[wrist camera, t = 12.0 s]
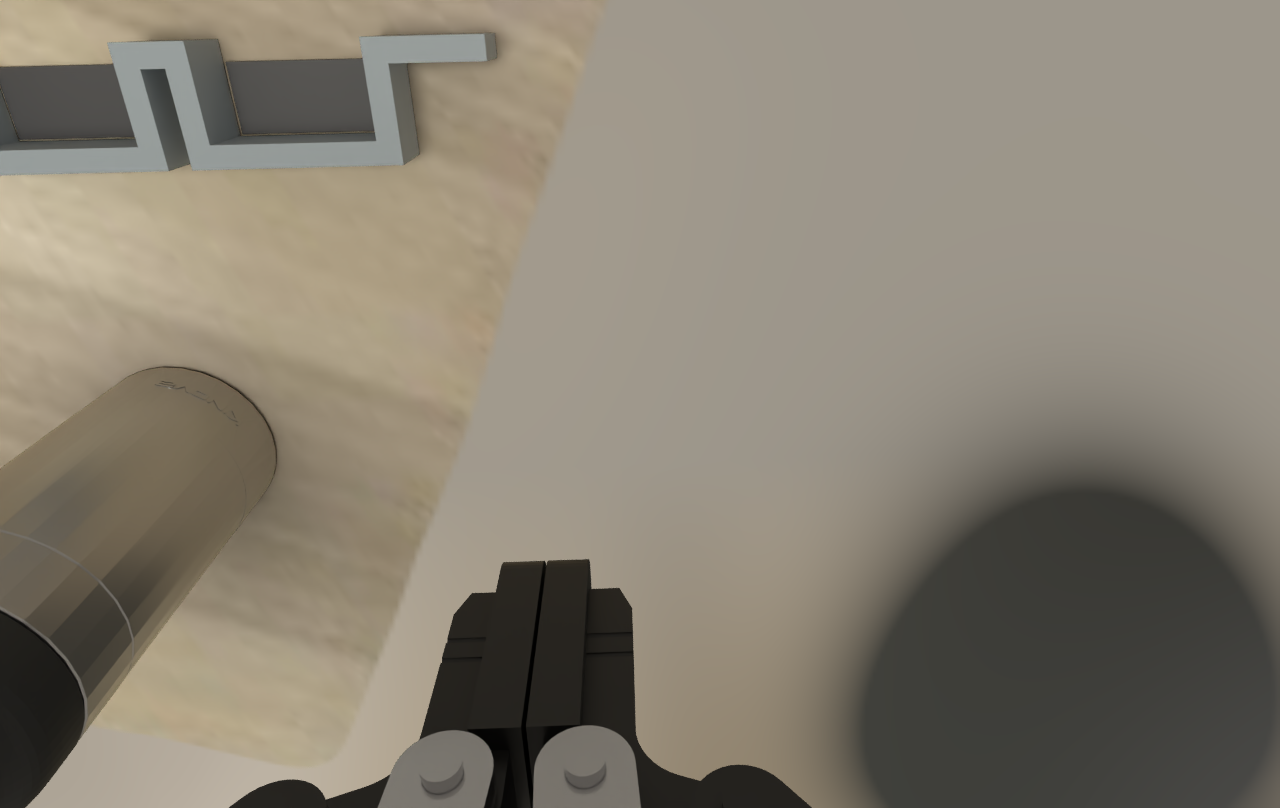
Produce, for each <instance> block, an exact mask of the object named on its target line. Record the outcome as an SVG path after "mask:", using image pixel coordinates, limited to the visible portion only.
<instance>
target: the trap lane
mask: <svg viewBox="0 0 1280 808" xmlns="http://www.w3.org/2000/svg"><path fill="white" fill-rule="evenodd" d="M359 39H360V45H361V51H362V57H363V59H325V60H282V61H240V62H226V66H227V70H228V75H229V79H230V83H231V87H232V92H233V96H234V100H235V104H236V108H237V113H238V117H239V121H240V125H241V130H242V134H267V133H308V132H348V131H375V133H339V134H299V135H259V136H240V131H239V127H238V123H237V119H236V115H235V110H234V106H233V102H232V98H231V94H230V89H229V85H228V81H227V77H226V72H225V68H224V64H223V60H222V56H221V51H220V47H219V43H218V39H207V40H164V41H133V42H111V43H107V44H108V47H109V51H110V54H111V57H112V61H113V64H112V65H69V66H27V67H0V86H1V89H2V92H3V94H4V97H5V100H6V103H7V106H8V108H9V111H10V114H11V117H12V119H13V122H14V125H15V128H16V131H17V133H18V136H19V139H20V140H26V139H67V138H107V137H135V139H98V140H58V141H19V140H18V137H17V134H16V131H15V129H14V126H13V123H12V120H11V117H10V115H9V112H8V109H7V106H6V103H5V101H4V98H3V95H2V92H1V90H0V175H34V174H73V173H112V172H151V171H170V170H173V169H176V168H179V167H182V166H185V165H188V164H191V167H192V170H229V169H269V168H308V167H347V166H386V165H404V164H406V163H407V162H409V161H410V160H412V159H413V158H415V157H416V156H418V155H419V147H418V140H417V133H416V126H415V119H414V112H413V104H412V97H411V90H410V83H409V76H408V69H407V63H430V62H473V61H489V60H492V59H495V58H497V52H496V41H495V33H468V34H424V35H381V36H365V37H359Z"/></svg>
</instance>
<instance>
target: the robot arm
mask: <svg viewBox="0 0 1280 808" xmlns="http://www.w3.org/2000/svg"><path fill="white" fill-rule="evenodd" d="M275 467H276V449H275V445H274V441H273V438H272V434H271V432H270V430H269V428H268V426H267V424H266V422H265V421H264V419H263V417H262V416H261V415H260V414H259V412H258V411H257V410H256V409H255V407H254V406H253V405H252V404H251V403H250V402H249V401H248V400H247V399H246V398H244V397H243V396H242V395H241V394H240V393H239V392H238V391H236V390H235V389H233V388H231V387H230V386H228V385H226V384H225V383H223V382H222V381H220V380H218V379H215V378H213V377H210V376H208V375H205V374H203V373H200V372H196V371H191V370H187V369H183V368H164V367H162V368H155V369H149V370H143V371H141V372H138V373H136V374H133V375H131V376H128V377H127V378H125V379H124V380H123V381H121V382H120V383H118V384H117V385H116V386H114V387H113V388H111V389H110V390H109V391H107V392H106V393H104V394H103V395H102V396H100V397H99V398H97V399H96V400H95V401H93V402H92V403H90V404H89V405H88V406H86V407H85V408H84V409H82V410H81V411H79V412H78V413H76V414H74V415H73V416H72V417H70V418H69V419H68V420H66V421H65V422H63V423H62V424H61V425H59V426H58V427H57V428H55V429H54V430H52V431H51V432H50V433H48V434H47V435H46V436H44V437H43V438H42V439H40V440H39V441H37V442H36V443H35V444H33V445H32V446H31V447H29V448H28V449H26V450H25V451H24V452H22V453H21V454H20V455H18V456H17V457H15V458H14V459H13V460H11V461H10V462H9V463H7V464H6V465H4V466H3V467H2V468H0V808H25V807H26V806H27V805H28V804H29V803H30V802H31V801H32V800H33V799H34V798H35V797H36V796H37V795H38V794H39V793H40V792H41V790H42V789H43V788H44V787H45V786H46V784H47V783H48V782H49V780H50V779H51V778H52V777H53V775H54V774H55V773H56V771H57V770H58V768H59V767H60V766H61V765H62V763H63V761H65V759H66V758H67V756H68V755H69V754H70V753H71V751H72V750H73V748H74V747H75V746H76V744H77V742H78V740H79V739H80V738H81V737H82V735H83V734H84V733H85V731H86V730H87V729H88V727H89V726H90V725H91V723H92V722H93V721H94V719H95V718H96V717H97V715H98V714H99V713H100V711H101V710H102V709H103V707H104V706H105V705H106V703H107V702H108V701H109V699H110V698H111V697H112V695H113V694H114V693H115V691H116V690H117V689H118V687H119V686H120V684H121V683H122V682H123V680H124V679H125V678H126V676H127V675H128V673H129V672H130V671H131V669H132V668H133V667H134V665H135V664H136V663H137V661H138V660H139V659H140V657H141V656H142V655H143V653H144V652H145V651H146V649H147V648H148V647H149V645H150V644H151V643H152V641H153V640H154V639H155V637H156V636H157V635H158V633H159V632H160V631H161V629H162V628H163V627H164V625H165V624H166V623H167V621H168V620H169V619H170V617H171V616H172V615H173V613H174V612H175V611H176V609H177V608H178V607H179V605H180V604H181V603H182V601H183V600H184V599H185V597H186V596H187V595H188V593H189V592H190V591H191V589H192V588H193V587H194V585H195V584H196V583H197V581H198V580H199V579H200V577H201V576H202V575H203V573H204V572H205V571H206V569H207V568H208V567H209V565H210V564H211V563H212V561H213V560H214V559H215V557H216V556H217V555H218V553H219V552H220V551H221V549H222V548H223V547H224V545H225V544H226V543H227V541H228V540H229V539H230V537H231V536H232V535H233V533H234V532H235V531H236V530H237V529H238V527H239V526H240V524H241V523H242V522H243V520H244V519H245V518H246V516H247V515H248V514H249V512H250V511H251V510H252V508H253V507H254V506H255V504H256V503H257V502H258V500H259V499H260V498H261V496H262V495H263V494H264V492H265V491H266V489H267V488H268V486H269V484H270V482H271V480H272V479H273V475H274V471H275ZM632 625H633V624H632V607H631V606H630V604H629V603H628V601H627V600H626V598H625V596H624V595H623V593H622V592H621V590H620V588H608V589H591V573H590V561H589V559H585V560H556V561H548V562H547V566H546V563H545V561H530V562H504V563H503V564H502V566H501V570H500V575H499V580H498V585H497V589H496V592H495V593H472V594H471V595H470V596H469V598H468V599H467V600H466V601H465V602H464V603H463V605H462V606H461V607H460V608H459V609H458V610H457V612H456V613H455V614H454V616H453V620H452V625H451V627H450V631H449V635H448V642H447V643H446V646H445V649H444V653H443V657H442V663H441V664H440V667H439V671H438V675H437V679H436V682H435V686H434V689H433V693H432V697H431V700H430V704H429V708H428V711H427V715H426V719H425V722H424V726H423V730H422V733H421V736H420V739H419V741H418V742H416V743H414V744H413V745H412V746H410V747H409V748H408V749H407V750H406V751H405V752H404V753H403V754H402V755H401V756H400V758H399V759H398V760H397V762H396V763H395V765H394V767H393V769H392V772H391V774H390V775H388V776H387V777H385V778H384V779H382V780H380V781H378V782H376V783H374V784H372V785H369V786H366V787H364V788H361V789H357V790H354V791H351V792H348V793H345V794H342V795H339V796H336V797H333V798H330V799H327V800H325V797H324V795H323V793H322V792H321V791H320V790H319V789H318V788H317V787H316V786H314V785H313V784H311V783H308V782H306V781H301V780H282V781H277V782H273V783H270V784H267V785H265V786H262V787H259V788H257V789H256V790H254V791H252V792H250V793H248V794H247V795H246V796H244V797H243V798H241V799H240V800H238V801H237V802H236V803H234V804H233V805H232V806H231V807H229V808H811V807H810V806H809V805H808V804H807V803H806V802H805V801H804V800H802V799H801V798H800V797H799V796H798V795H797V794H795V793H794V792H793V791H792V790H791V789H790V788H789V787H788V786H786V785H785V784H784V783H783V782H782V781H780V780H779V779H778V778H777V777H775V776H774V775H772V774H771V773H769V772H767V771H765V770H763V769H760V768H757V767H753V766H748V765H730V766H726V767H722V768H720V769H717V770H715V771H713V772H712V773H710V774H708V775H707V776H706V777H705V778H704V779H702V780H701V781H698V780H695V779H691V778H687V777H684V776H680V775H677V774H674V773H671V772H669V771H667V770H664V769H663V768H661V767H659V766H658V765H657V764H655V763H654V762H653V761H652V760H651V759H650V758H649V757H647V755H646V754H645V753H644V751H643V750H642V748H641V746H640V745H639V743H638V740H637V736H636V726H635V690H634V657H633V656H634V655H633V626H632Z"/></svg>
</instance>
